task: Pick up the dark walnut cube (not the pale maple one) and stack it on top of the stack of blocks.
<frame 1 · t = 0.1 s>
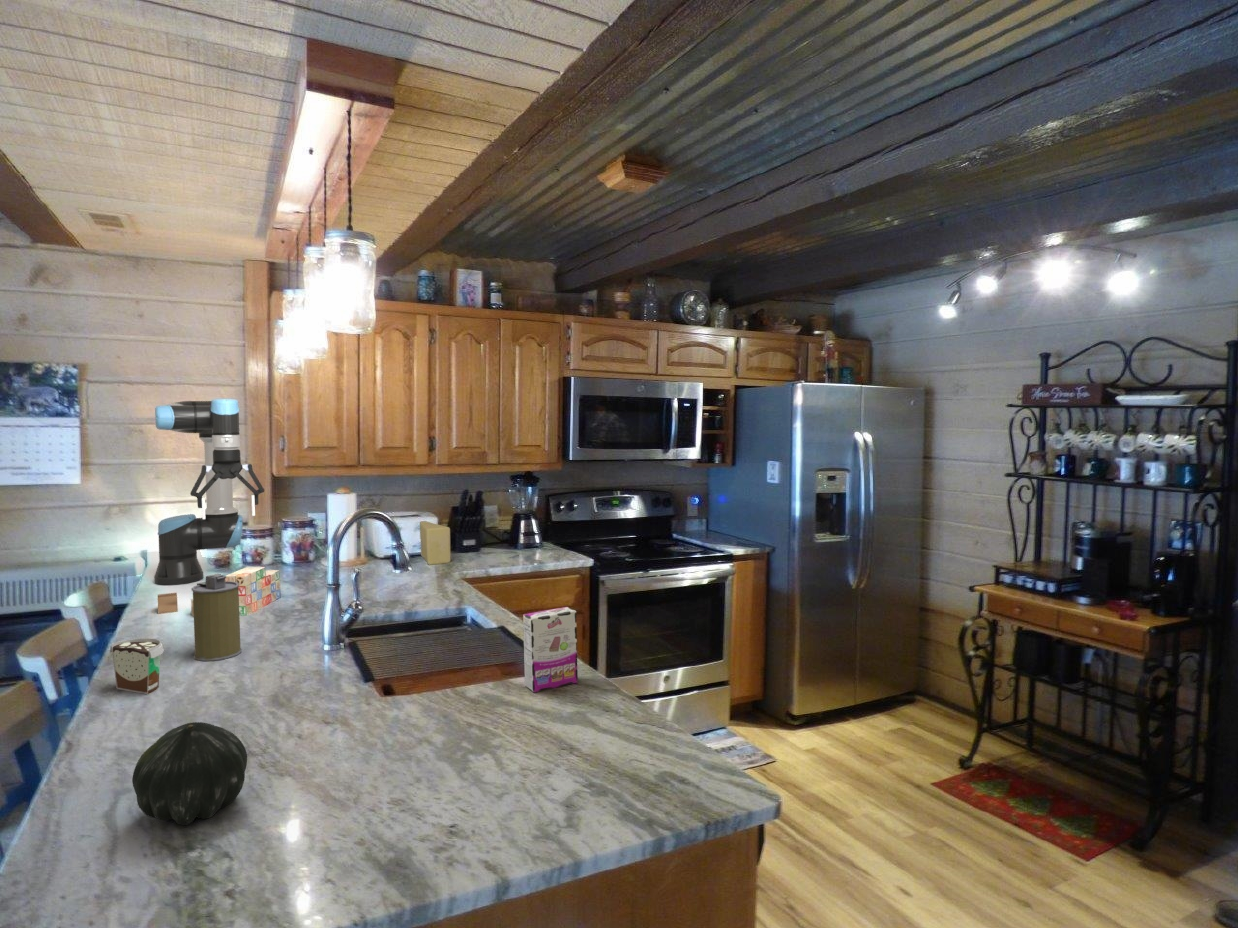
hand: (229, 517, 227), 28 cm above the counter, fingers open, 13 cm apart
squash: (194, 811, 110), on the counter
maple cube: (203, 615, 218), on the counter
walnut cube: (167, 611, 222), on the counter
stack of blocks: (254, 607, 228), on the counter
cheese: (430, 560, 302), on the counter
canister: (217, 654, 182), on the counter
food container: (145, 687, 161), on the counter
candy bar box: (550, 685, 162), on the counter
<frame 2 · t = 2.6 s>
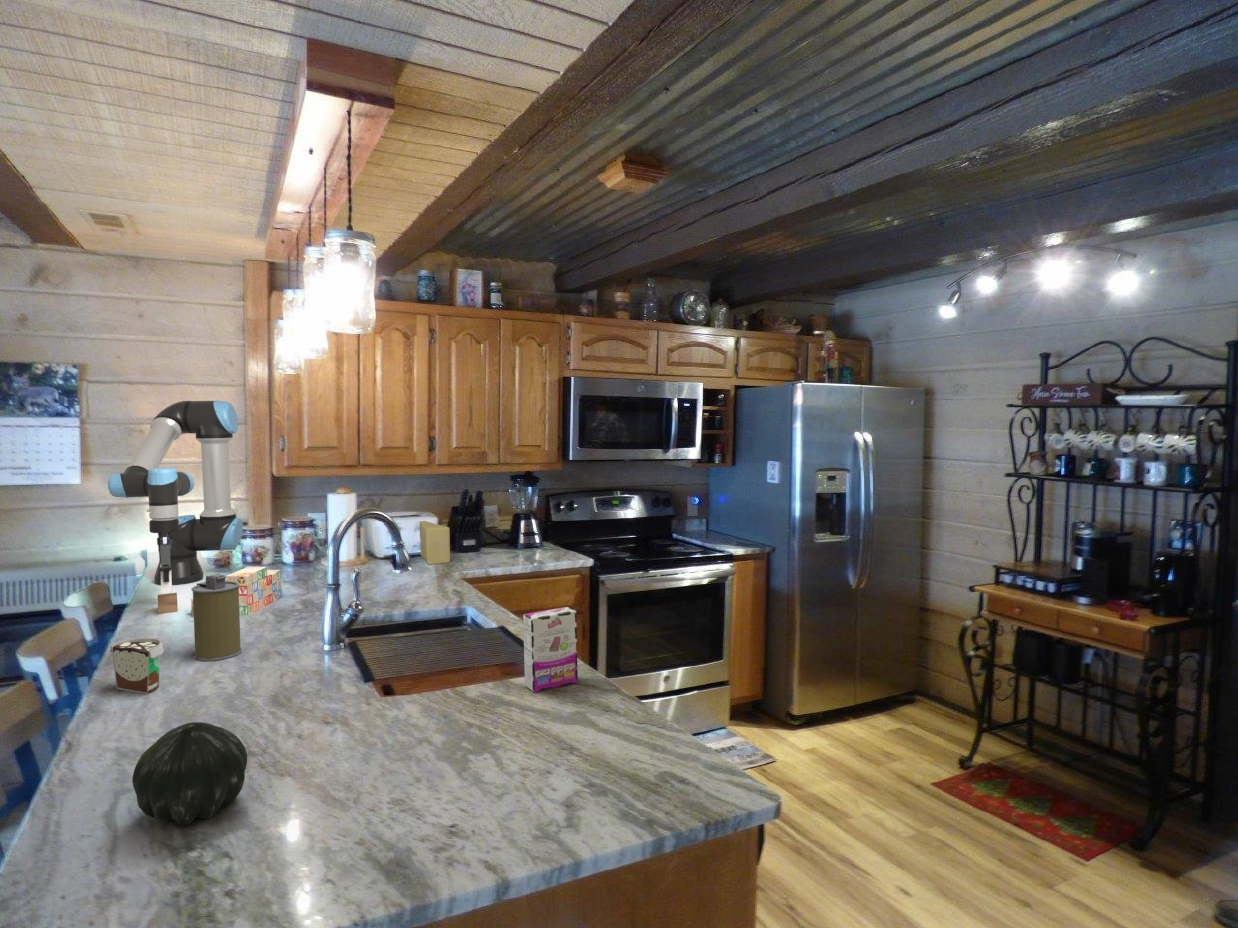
hand: (166, 588, 221), 7 cm above the counter, fingers open, 13 cm apart
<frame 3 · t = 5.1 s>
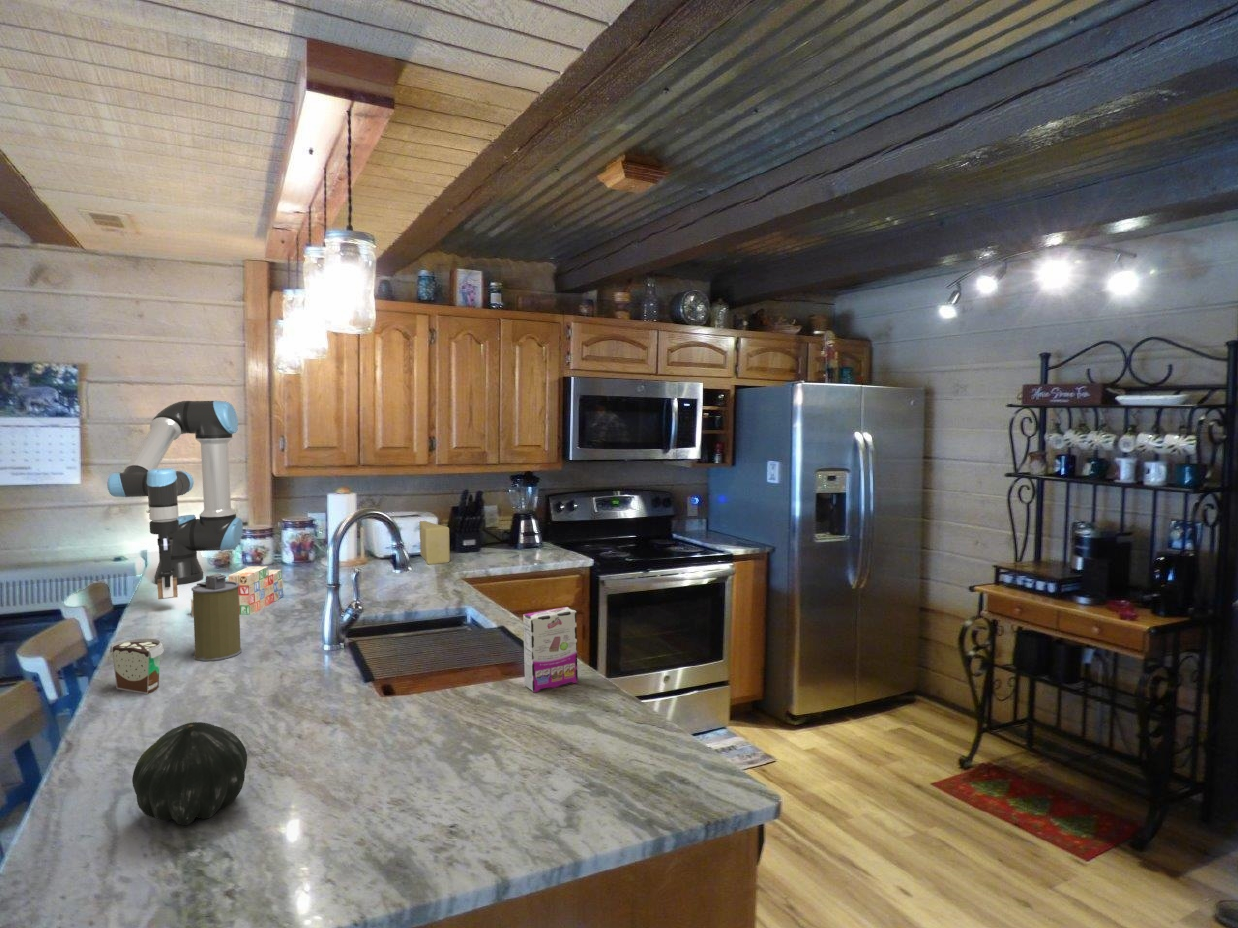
hand: (168, 594, 223), 5 cm above the counter, fingers closed on walnut cube, 5 cm apart
walnut cube: (167, 596, 223), point 4 cm above the counter, touching gripper
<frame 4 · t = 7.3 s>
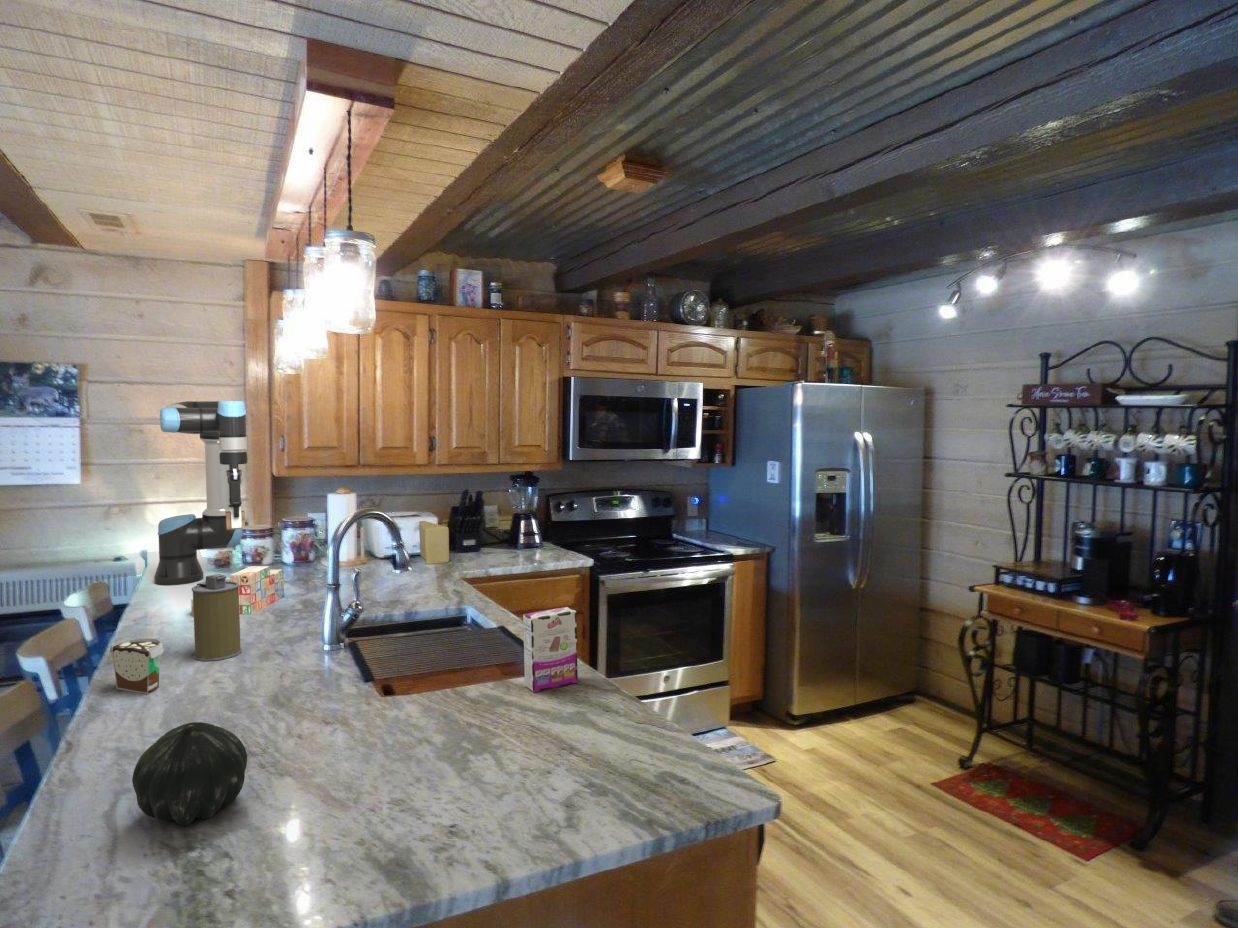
hand: (236, 526, 225), 25 cm above the counter, fingers closed on walnut cube, 5 cm apart
walnut cube: (235, 527, 225), point 25 cm above the counter, touching gripper
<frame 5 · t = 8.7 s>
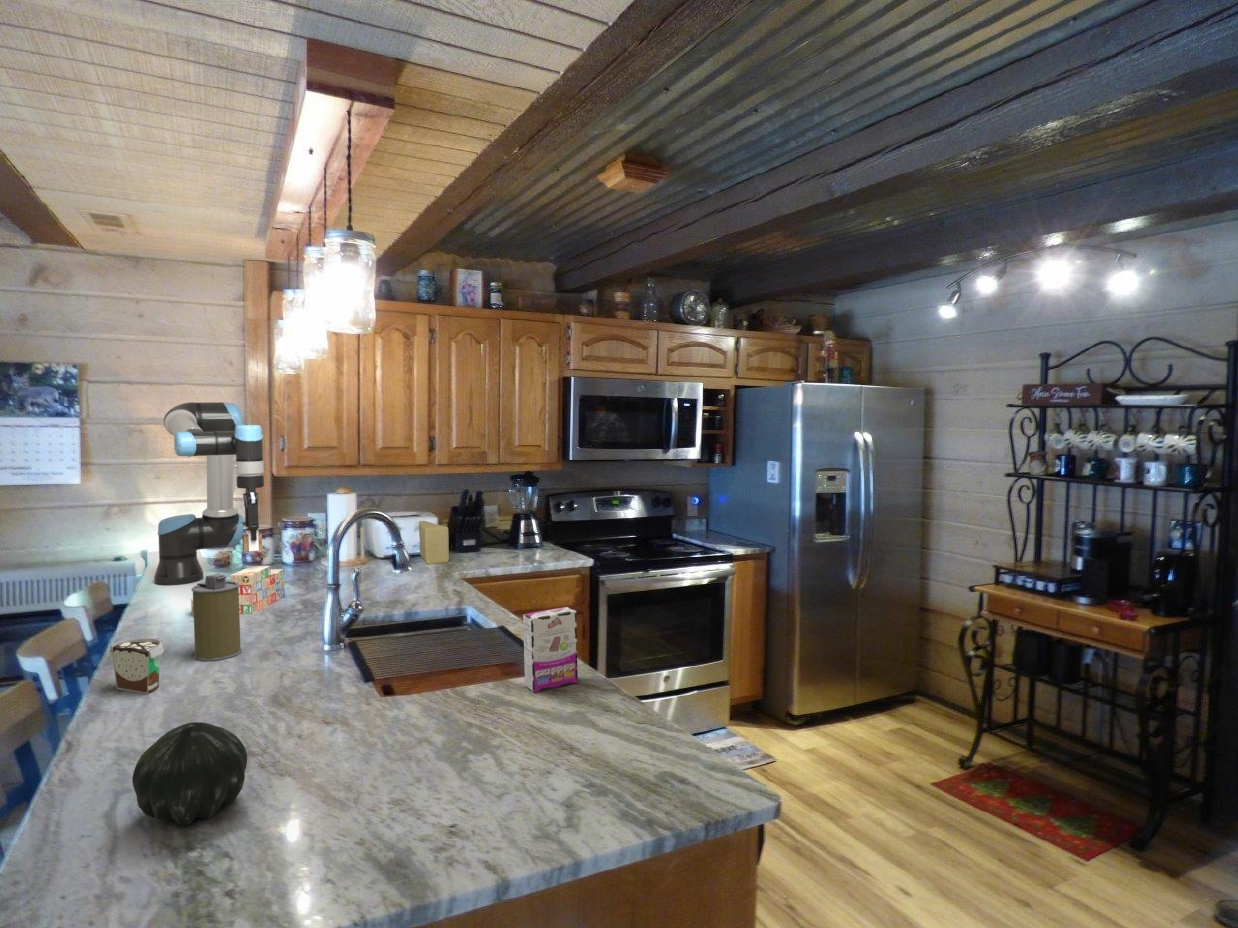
hand: (252, 549, 227), 18 cm above the counter, fingers closed on walnut cube, 5 cm apart
walnut cube: (252, 550, 226), point 18 cm above the counter, touching gripper
when the fingers open (14 cm above the counter, at t = 9.6 s): walnut cube drops 1 cm, resting on stack of blocks.
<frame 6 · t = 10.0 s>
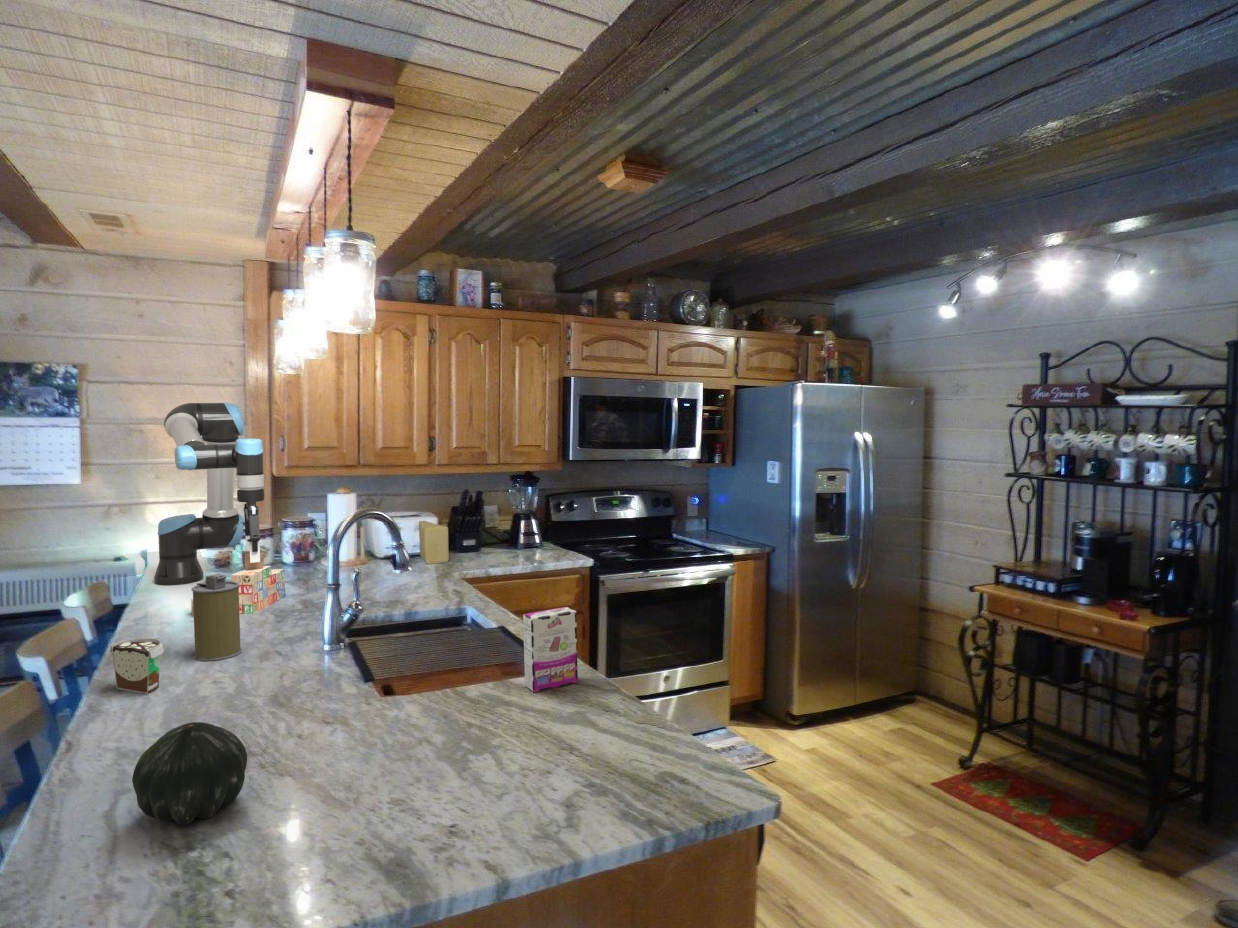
hand: (253, 559, 227), 15 cm above the counter, fingers open, 10 cm apart
walnut cube: (253, 567, 227), point 12 cm above the counter, touching stack of blocks
stack of blocks: (260, 605, 230), on the counter, touching walnut cube
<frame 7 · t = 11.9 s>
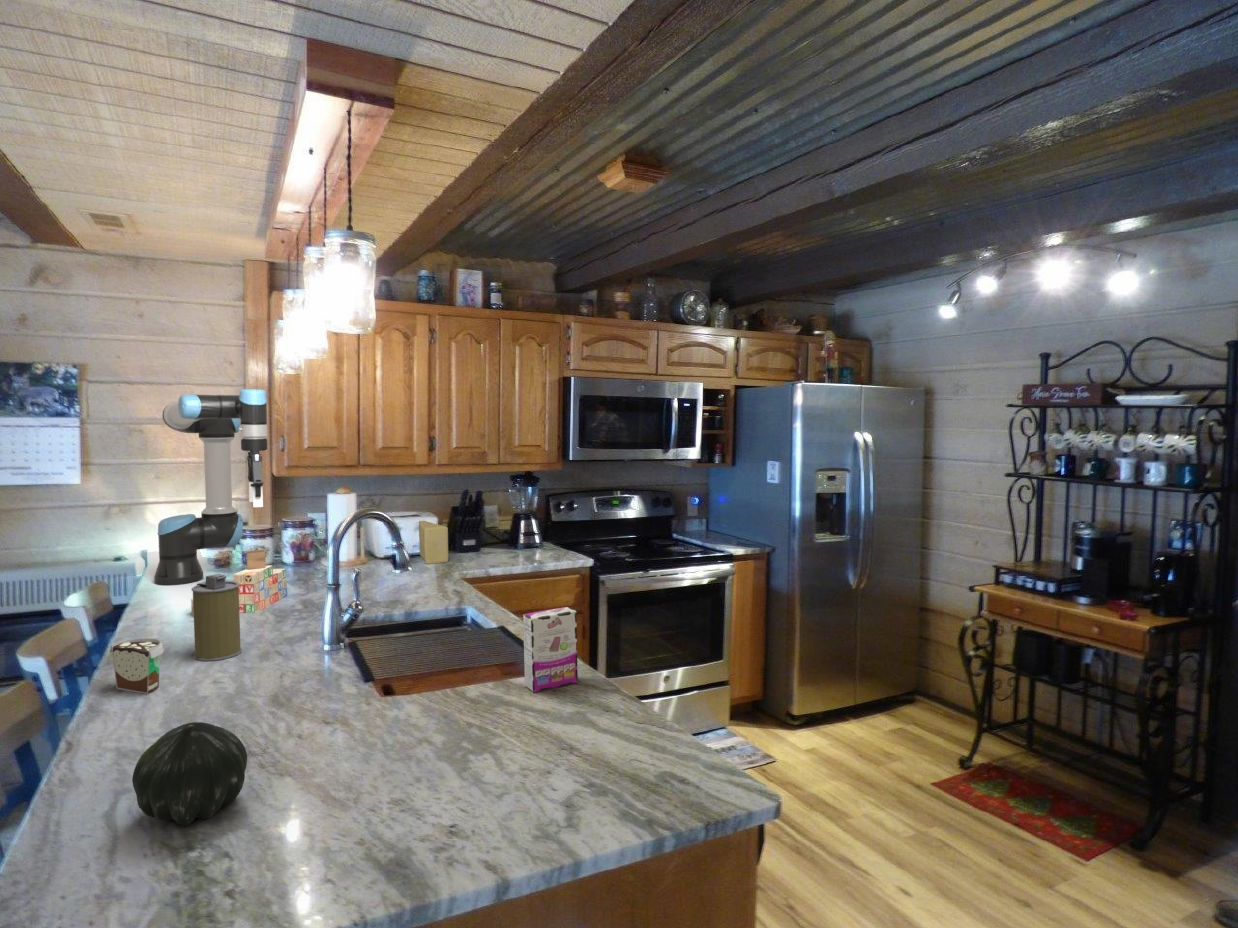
hand: (255, 504, 233), 31 cm above the counter, fingers open, 13 cm apart
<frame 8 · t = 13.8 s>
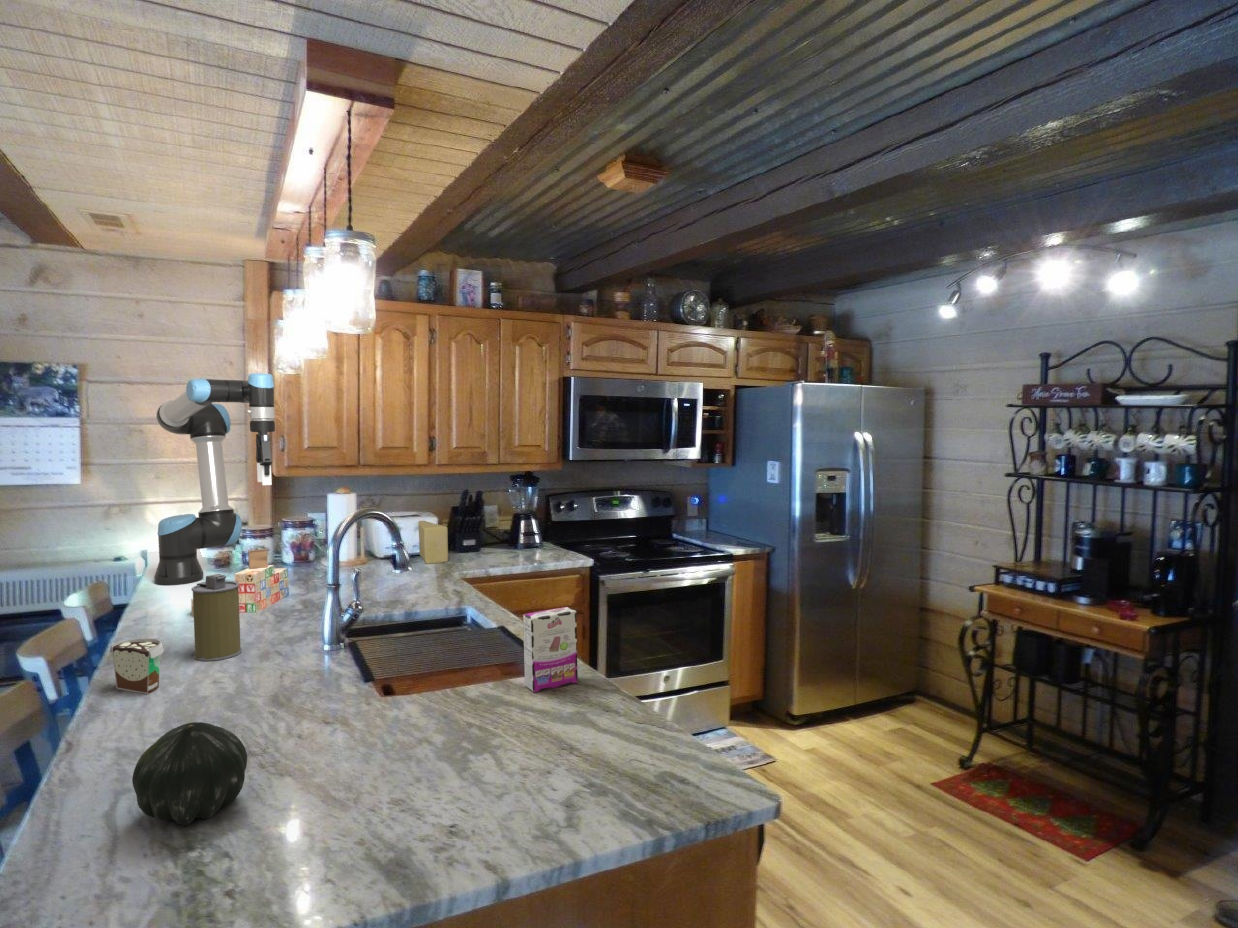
hand: (264, 483, 245), 37 cm above the counter, fingers open, 13 cm apart
at the end: walnut cube inside the target area on the stack of blocks (1.6 cm from its centre), point 12.5 cm above the stack of blocks's base; walnut cube tilted 0°; the gripper is holding nothing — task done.
